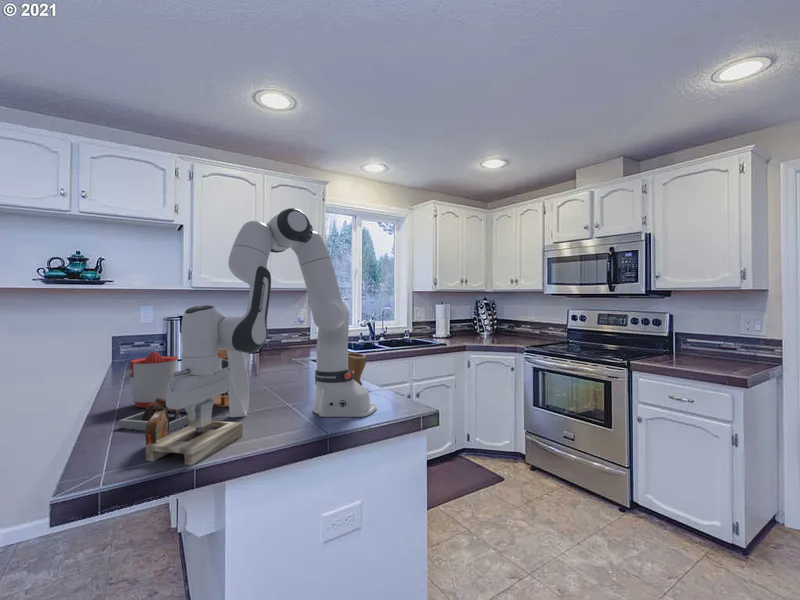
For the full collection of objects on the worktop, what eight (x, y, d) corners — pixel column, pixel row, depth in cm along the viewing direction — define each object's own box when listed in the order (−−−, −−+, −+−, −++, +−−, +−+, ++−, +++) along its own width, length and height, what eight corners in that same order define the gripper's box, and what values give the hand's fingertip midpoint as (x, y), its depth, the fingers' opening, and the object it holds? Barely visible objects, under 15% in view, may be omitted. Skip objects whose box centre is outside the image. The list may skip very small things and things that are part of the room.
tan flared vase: (368, 389, 169) (368, 354, 168) (340, 391, 165) (340, 355, 165) (362, 382, 183) (361, 350, 183) (336, 383, 180) (336, 351, 180)
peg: (212, 440, 108) (212, 401, 108) (201, 446, 104) (201, 405, 103) (199, 439, 109) (198, 400, 109) (187, 445, 105) (186, 404, 104)
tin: (157, 457, 98) (157, 423, 98) (142, 458, 97) (143, 424, 97) (170, 435, 112) (170, 406, 112) (157, 436, 111) (158, 406, 111)
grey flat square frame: (212, 413, 135) (212, 406, 135) (169, 432, 117) (168, 423, 117) (167, 410, 139) (167, 403, 139) (119, 428, 120) (118, 420, 120)
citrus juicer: (121, 404, 147) (120, 351, 147) (174, 396, 158) (173, 347, 158) (126, 414, 135) (125, 356, 135) (183, 404, 147) (182, 351, 146)
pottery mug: (142, 419, 130) (156, 396, 134) (171, 430, 132) (184, 406, 136) (133, 420, 120) (148, 395, 123) (164, 432, 122) (178, 406, 125)
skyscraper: (249, 417, 131) (248, 333, 130) (225, 419, 129) (224, 333, 128) (252, 410, 138) (251, 331, 138) (229, 412, 136) (228, 331, 136)
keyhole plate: (242, 435, 113) (242, 422, 113) (191, 465, 94) (191, 449, 93) (203, 432, 116) (203, 420, 116) (146, 460, 96) (145, 445, 96)
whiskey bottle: (236, 397, 156) (235, 317, 156) (249, 402, 150) (248, 318, 149) (210, 403, 148) (208, 318, 148) (222, 408, 142) (220, 319, 142)
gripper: (180, 373, 95) (181, 430, 95) (233, 360, 115) (234, 407, 115) (158, 372, 96) (159, 428, 97) (215, 359, 116) (215, 406, 117)
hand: (200, 416), depth 106 cm, fingers closed on peg, 4 cm apart
